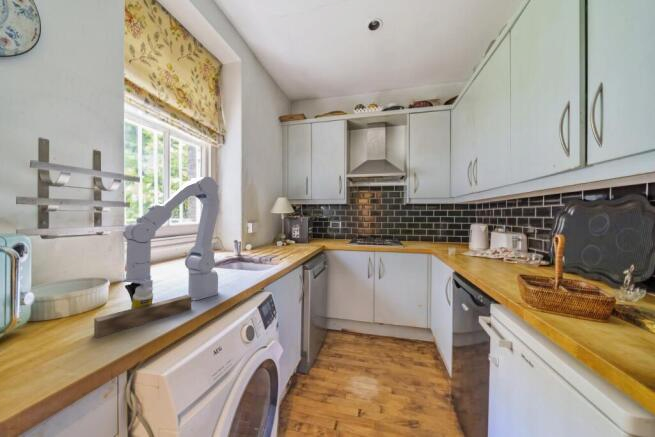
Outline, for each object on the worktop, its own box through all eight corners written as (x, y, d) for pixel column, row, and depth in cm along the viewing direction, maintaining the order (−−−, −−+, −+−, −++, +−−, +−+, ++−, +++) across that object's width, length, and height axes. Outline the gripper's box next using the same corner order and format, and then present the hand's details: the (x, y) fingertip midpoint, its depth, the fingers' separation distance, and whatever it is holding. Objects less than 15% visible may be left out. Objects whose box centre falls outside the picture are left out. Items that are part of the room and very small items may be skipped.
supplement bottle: (138, 320, 67) (141, 294, 66) (126, 314, 68) (129, 288, 67) (154, 312, 72) (158, 287, 70) (143, 306, 73) (146, 282, 71)
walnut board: (186, 307, 77) (186, 294, 77) (191, 309, 76) (191, 296, 76) (94, 334, 59) (94, 318, 59) (97, 337, 57) (97, 321, 57)
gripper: (113, 261, 72) (112, 305, 72) (131, 267, 64) (130, 317, 64) (141, 258, 78) (140, 299, 78) (161, 263, 70) (160, 309, 70)
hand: (138, 307), depth 71 cm, fingers closed
